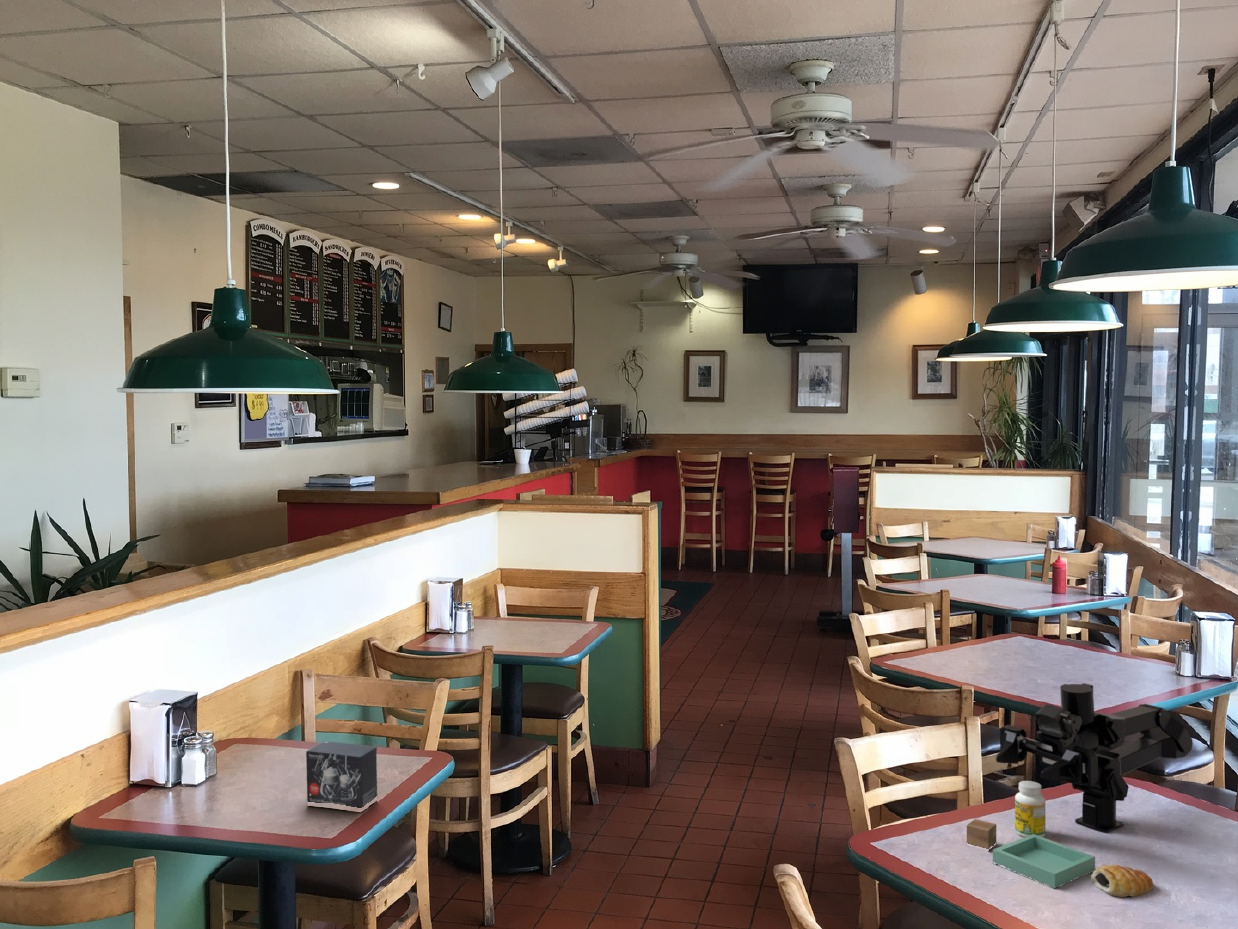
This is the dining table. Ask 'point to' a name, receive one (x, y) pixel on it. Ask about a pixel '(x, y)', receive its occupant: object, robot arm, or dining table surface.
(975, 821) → the walnut block
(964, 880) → the dining table surface
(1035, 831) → the supplement bottle
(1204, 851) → the dining table surface
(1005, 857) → the tray
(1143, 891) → the pastry
